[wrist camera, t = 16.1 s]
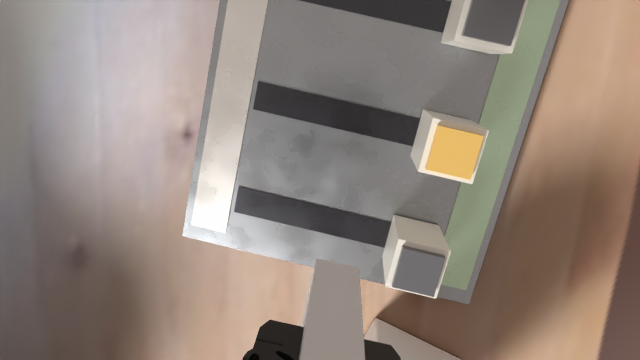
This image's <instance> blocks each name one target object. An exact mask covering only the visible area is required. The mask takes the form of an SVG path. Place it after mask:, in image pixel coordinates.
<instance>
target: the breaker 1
mask: <svg viewBox="0 0 640 360" xmlns="http://www.w3.org/2000/svg"><path fill="white" fill-rule="evenodd" d="M450 253H451V251H450V248H449V246H448V244H447V242H446V240H445V237H444V235H443V233H442V231H441V229H440V227H439V225H435V224H431V223H427V222H423V221H419V220H414V219H410V218H406V217H402V216H397V215H393V219H392V222H391V226H390V230H389V234H388V237H387V241H386V245H385V248H384V252H383V256H382V259H383V269H384V279H385V287H389V288H393V289H397V290H401V291H406V292H410V293H414V294H418V295H422V296H427V297H431V298H435V299H436V298H437V295H438V292H439V288H440V285H441V282H442V279H443V275H444V272H445V269H446V266H447V262H448V259H449V256H450Z"/></svg>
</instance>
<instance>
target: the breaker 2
mask: <svg viewBox="0 0 640 360" xmlns="http://www.w3.org/2000/svg"><path fill="white" fill-rule="evenodd" d="M527 3H528V0H452V2H451V6H450V9H449V13H448V17H447V20H446V24H445V28H444V31H443V35H442V39H441V42H440V43H443V44H447V45H452V46H456V47H461V48H465V49H469V50H474V51H478V52H483V53H487V54H512V52H513V49H514V46H515V42H516V39H517V36H518V33H519V29H520V26H521V23H522V20H523V16H524V13H525V10H526V7H527Z"/></svg>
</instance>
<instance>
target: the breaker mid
mask: <svg viewBox="0 0 640 360" xmlns="http://www.w3.org/2000/svg"><path fill="white" fill-rule="evenodd" d="M488 132H489V130H487V129H486V128H484V127H482V126H480V125H479V124H477V123H475V122H473V121H472V120H468V119H464V118H460V117H455V116H451V115H447V114H442V113H438V112H434V111H429V110H425V109H423V111H422V115H421V118H420V122H419V126H418V129H417V133H416V137H415V140H414V144H413V148H412V151H411V155H410V156H411V158H412V160H413V162H414V164H415V166H416V168H417V170H418V172H422V173H426V174H430V175H435V176H439V177H443V178H447V179H452V180H456V181H460V182H465V183H469V184H473V181H474V178H475V174H476V171H477V168H478V165H479V161H480V158H481V155H482V152H483V149H484V145H485V142H486V139H487V136H488Z"/></svg>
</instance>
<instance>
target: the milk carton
mask: <svg viewBox="0 0 640 360" xmlns="http://www.w3.org/2000/svg"><path fill="white" fill-rule="evenodd" d="M364 339H366V340H371V341H375V342H380V343H384V344H389V345H392V347H393V348H394V349H395V351H396V352H397V353H398V355H399V356H400V358H401V360H461V359H459V358H457V357H455V356H453V355H451V354H449V353H447V352H445V351H443V350H441V349H439V348H437V347H435V346H433V345H431V344H429V343H426V342H424V341H422V340H420V339H418V338H416V337H414V336H412V335H410V334H408V333H406V332H404V331H402V330H400V329H398V328H396V327H394V326H392V325H390V324H388V323H386V322H384V321H381V320H379V319H377V318H376V319H374V321H373V322H372V324H371V326H370V327H369V329H368V331H367V333H366V334H365V336H364Z"/></svg>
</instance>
